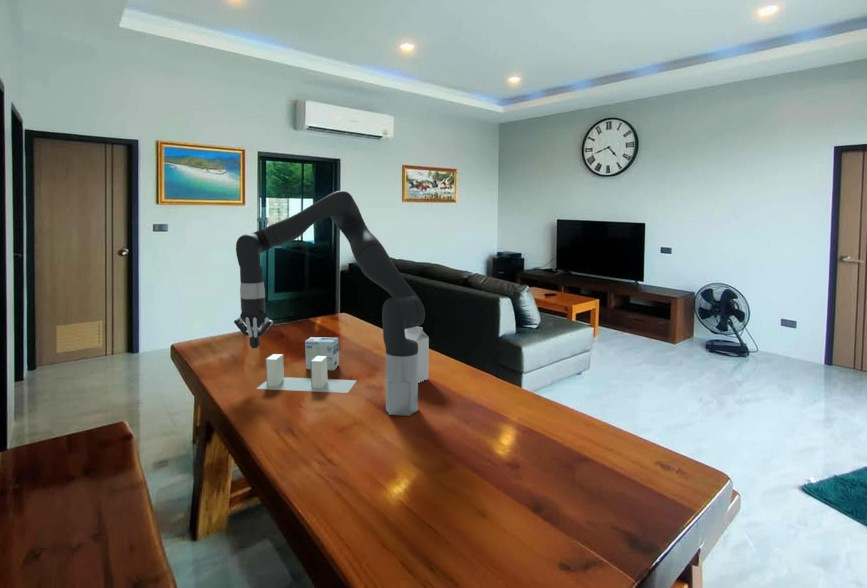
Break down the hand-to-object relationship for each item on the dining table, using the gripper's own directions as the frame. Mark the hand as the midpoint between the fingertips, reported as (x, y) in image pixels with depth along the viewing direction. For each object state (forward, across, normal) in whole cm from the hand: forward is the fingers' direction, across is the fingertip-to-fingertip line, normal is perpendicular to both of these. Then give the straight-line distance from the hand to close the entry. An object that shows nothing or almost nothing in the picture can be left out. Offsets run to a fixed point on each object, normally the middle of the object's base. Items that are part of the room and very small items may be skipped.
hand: (255, 347), depth 169 cm
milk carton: (+12, +52, +9) cm, 54 cm away
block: (+12, +22, 0) cm, 25 cm away
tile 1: (+12, +7, 0) cm, 13 cm away
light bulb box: (+12, +17, +19) cm, 28 cm away
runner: (+12, +18, 0) cm, 21 cm away
